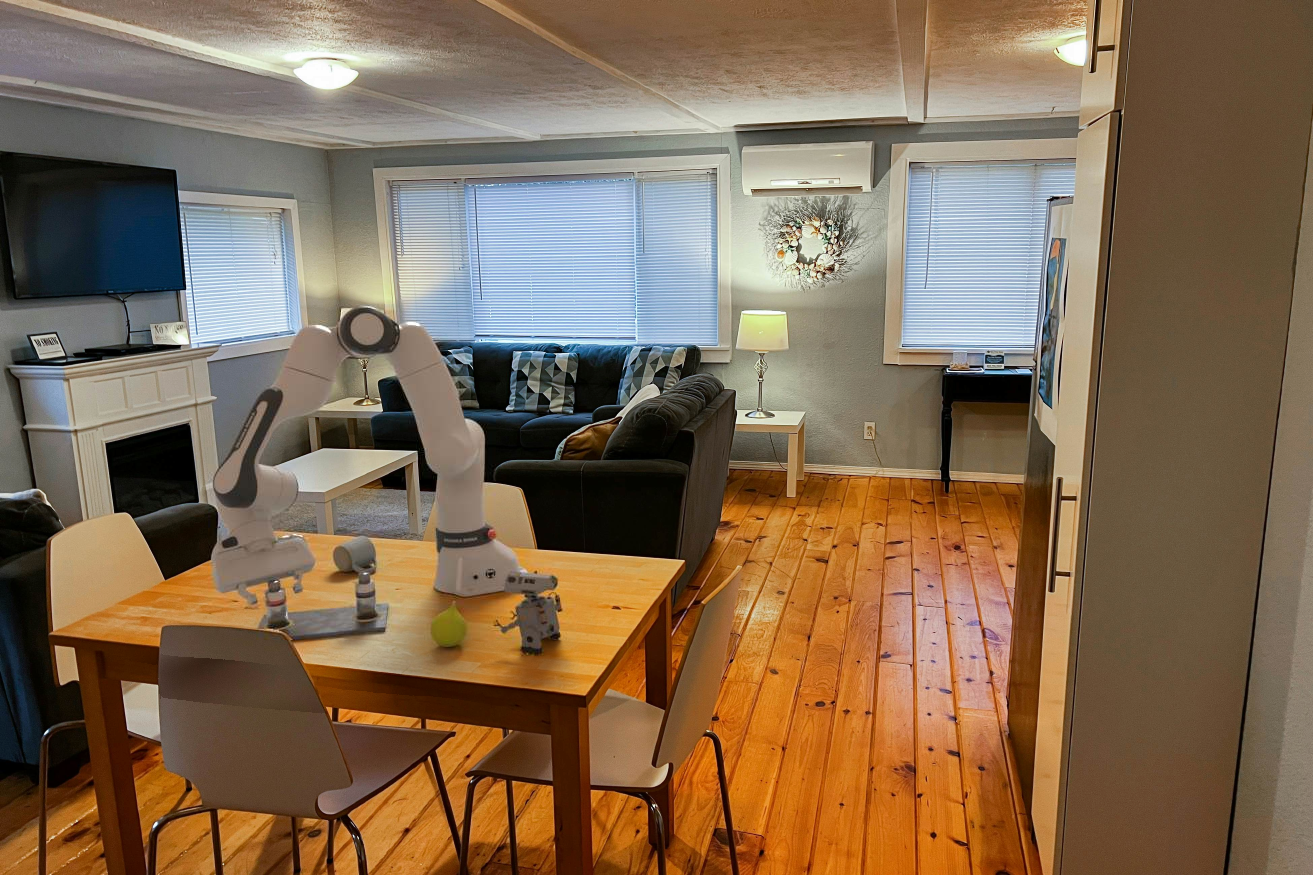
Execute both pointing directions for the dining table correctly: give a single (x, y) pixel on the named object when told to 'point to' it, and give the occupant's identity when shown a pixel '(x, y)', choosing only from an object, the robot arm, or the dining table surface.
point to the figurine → (533, 609)
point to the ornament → (448, 627)
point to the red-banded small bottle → (276, 605)
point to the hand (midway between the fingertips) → (276, 597)
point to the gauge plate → (330, 623)
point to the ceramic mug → (355, 555)
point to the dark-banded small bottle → (365, 596)
